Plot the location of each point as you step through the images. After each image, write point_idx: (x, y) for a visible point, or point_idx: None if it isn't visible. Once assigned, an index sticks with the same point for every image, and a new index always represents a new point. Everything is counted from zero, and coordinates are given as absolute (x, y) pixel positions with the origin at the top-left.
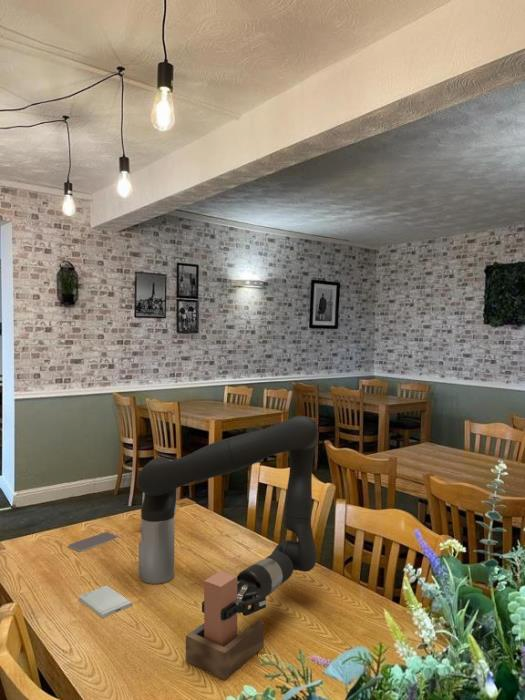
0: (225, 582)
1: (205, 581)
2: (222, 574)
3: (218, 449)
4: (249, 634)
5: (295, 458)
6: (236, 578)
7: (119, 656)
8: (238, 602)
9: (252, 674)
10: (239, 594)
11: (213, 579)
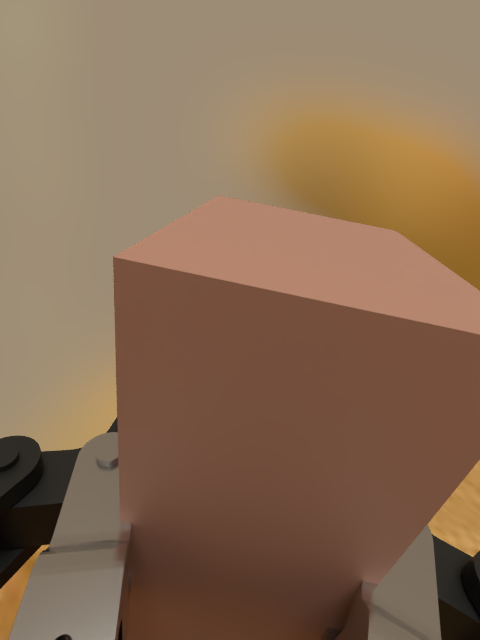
0: (217, 209)
1: (378, 229)
2: (391, 283)
3: None
4: None
5: None
6: (126, 278)
7: (477, 475)
8: (90, 448)
9: (23, 568)
10: (95, 564)
11: (357, 234)
